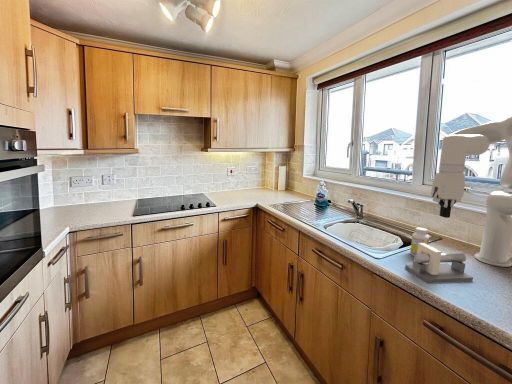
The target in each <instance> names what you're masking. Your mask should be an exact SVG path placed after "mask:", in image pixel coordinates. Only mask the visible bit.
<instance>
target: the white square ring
mask: <svg viewBox="0 0 512 384" xmlns="http://www.w3.org/2000/svg"><path fill="white" fill-rule="evenodd" d="M424 253H428V254H430V261H429V263H423V264H425V270H426V271H427V272H429V273H430V274H432V275H434V274H438V272H439V266H440V264H441V263H440V259H441V253H443V251H440V249H437V248H435V247H433V246H431V245H429V244H428V245H427V244H425V243H418V249H417V254H424Z"/></svg>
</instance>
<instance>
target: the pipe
mask: <svg viewBox="0 0 512 384" xmlns="http://www.w3.org/2000/svg"><path fill="white" fill-rule="evenodd" d="M413 257H414V260H412V261H413V262H412V265H413V267H412V269H413V270H414V271H416V272H417V273H418V274H424V271H425V264H423V263H429V261H430V254H428V253H424V254H415V256H413ZM466 260H467V256H466V254H465V253H463V252H442V253H441V259H440V264H444V263H451V264H450V265H451V268H452V269H454V270H455V271H457V272H459V273H465V269H466Z"/></svg>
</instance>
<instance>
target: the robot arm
mask: <svg viewBox="0 0 512 384" xmlns="http://www.w3.org/2000/svg"><path fill="white" fill-rule="evenodd" d="M502 141H505V144H506V146H507V149H508V154H509V155H508V159H507V162H506V163H505V167H504V169H503V171H502V174H501V175H500V179H499V185H500V187H502V188H504V189H507V190H512V112H509V113H508V112H507V113H506V114H503V115H502V116H499V117H497V118H495V119H493V120H491V121H488V122H486V123H482V124H477V125H474V126H471V127H467V128H463V129H459V130H457V131H454V132H453V133H450V134H448V135H445V136H444V137H443V138H442V144H441V151H440V159H439V167H438V171H437V172H436V173H435V175H434V178H433V181H432V185H431V191H430V197H431V198H432V202H435V203H437V204H438V206H439V207H440V209H439V216H440V217H442V218H444V219H446V218H447V219H450V217H451V211H452V208H453V207H454V205H455V204H456V203H459V202H461V200H462V198H463V197H464V193H465V185H466V184H465V183H466V179H465V171H464V170H466V166H465V165H466V159H467V157H466V156H481V155H482V154H484V153H486V152H487V151H488V150H489V148H490V145H491V144H497V143H500V142H502ZM485 205H486V217H485V222H484V229H483V233H482V239H481V245H480V248H479V252H476V253H475V254H474V258H475V259H476V260H477V261H479V262H482V263H485V264H486V265H487V264H488V265H491V266H496V267H502V268H504V267H505V268H509V267H512V261H511V260H510V259H512V252H511V253H510V251H511V246H512V191H505V190H496V191H495V190H494V191H492V192H490V193H489V194H488V195H487V197H486V204H485Z"/></svg>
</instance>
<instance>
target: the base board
mask: <svg viewBox="0 0 512 384" xmlns="http://www.w3.org/2000/svg"><path fill="white" fill-rule="evenodd" d="M451 265H452V264H450V263H449V262H444V263H440V266H439V272H438V274H434V275H432V274H430V273H429V272H427V271H426V270H425V271H424V274H418V273H417V272H416V271H414V270H413V269H412V267H413V264H405V266H404V267H405V268H404V269H405V270H407V271H408V272H410V273H411V274H412V275H414V276H416V277H417V278H419V280H421V281H423V283H426V284H433V283H434V284H437V283H439V284H440V283H458V282H460V283H462V282H463V283H464V282H473V281H474V277H473V276H471V275H469V274H468V273H466V272H464V273H459V272H457V271H455V270H454V269H452V268H451Z"/></svg>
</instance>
